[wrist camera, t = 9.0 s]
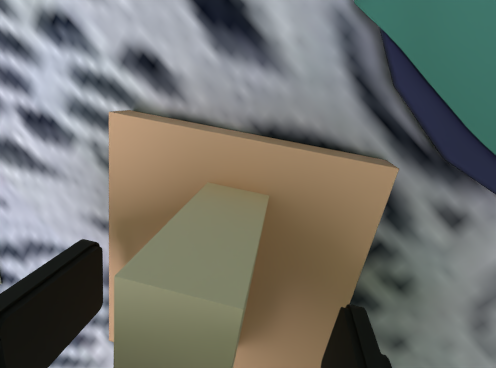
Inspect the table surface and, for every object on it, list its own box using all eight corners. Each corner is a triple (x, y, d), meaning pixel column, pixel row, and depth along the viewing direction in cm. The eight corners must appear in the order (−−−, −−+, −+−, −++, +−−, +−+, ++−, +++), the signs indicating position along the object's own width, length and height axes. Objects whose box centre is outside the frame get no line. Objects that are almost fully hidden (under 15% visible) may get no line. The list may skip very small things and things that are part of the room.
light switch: (385, 160, 11) (559, 273, 4) (312, 371, 15) (331, 619, 8) (129, 110, 12) (-106, 127, 5) (124, 320, 16) (-9, 497, 9)
